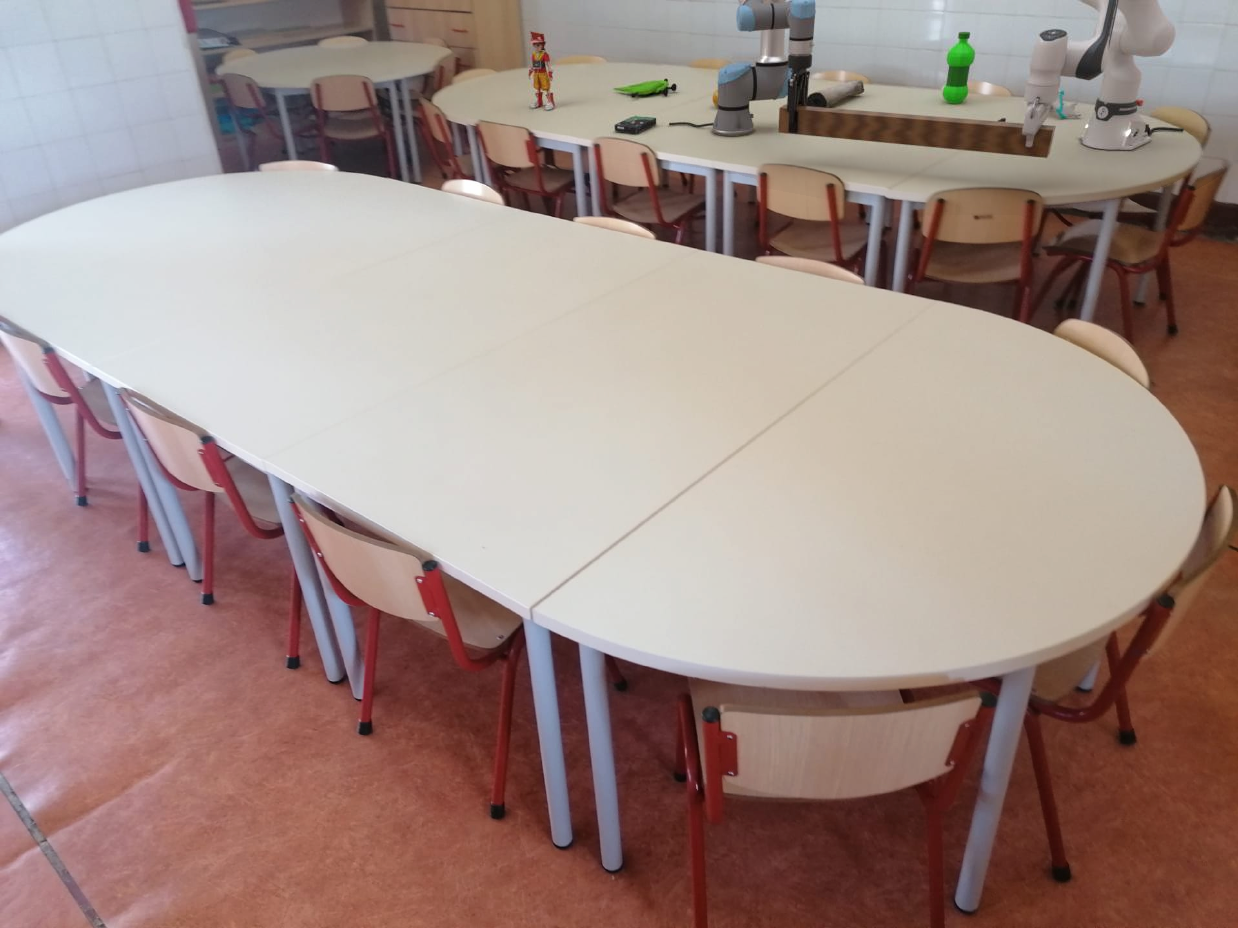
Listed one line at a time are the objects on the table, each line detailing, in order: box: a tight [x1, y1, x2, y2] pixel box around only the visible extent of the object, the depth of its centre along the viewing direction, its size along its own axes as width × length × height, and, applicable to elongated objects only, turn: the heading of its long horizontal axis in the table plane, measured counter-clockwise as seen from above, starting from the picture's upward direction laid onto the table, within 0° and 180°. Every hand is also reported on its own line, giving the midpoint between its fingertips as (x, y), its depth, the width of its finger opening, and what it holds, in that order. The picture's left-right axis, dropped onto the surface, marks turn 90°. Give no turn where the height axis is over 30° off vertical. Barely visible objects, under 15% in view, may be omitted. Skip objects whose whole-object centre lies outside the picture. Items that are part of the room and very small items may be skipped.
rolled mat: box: [807, 79, 865, 108], centre depth 362 cm, size 30×9×10 cm
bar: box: [777, 104, 1056, 159], centre depth 278 cm, size 83×5×8 cm, turn 59°
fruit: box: [712, 89, 718, 108], centre depth 365 cm, size 8×8×8 cm
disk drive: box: [614, 115, 657, 135], centre depth 346 cm, size 10×3×15 cm
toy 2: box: [612, 78, 677, 99], centre depth 396 cm, size 28×5×30 cm
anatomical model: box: [1050, 88, 1082, 119], centre depth 330 cm, size 15×10×10 cm
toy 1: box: [527, 31, 556, 111], centre depth 374 cm, size 12×9×30 cm
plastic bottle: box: [942, 31, 976, 104], centre depth 348 cm, size 10×10×25 cm
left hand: (795, 130), depth 296 cm, fingers closed on bar, 5 cm apart
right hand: (1031, 143), depth 262 cm, fingers closed on bar, 5 cm apart
